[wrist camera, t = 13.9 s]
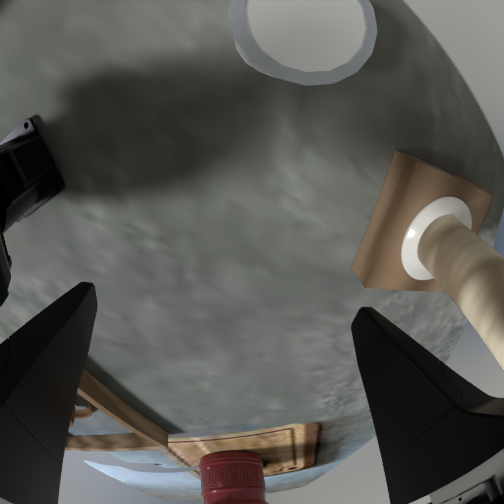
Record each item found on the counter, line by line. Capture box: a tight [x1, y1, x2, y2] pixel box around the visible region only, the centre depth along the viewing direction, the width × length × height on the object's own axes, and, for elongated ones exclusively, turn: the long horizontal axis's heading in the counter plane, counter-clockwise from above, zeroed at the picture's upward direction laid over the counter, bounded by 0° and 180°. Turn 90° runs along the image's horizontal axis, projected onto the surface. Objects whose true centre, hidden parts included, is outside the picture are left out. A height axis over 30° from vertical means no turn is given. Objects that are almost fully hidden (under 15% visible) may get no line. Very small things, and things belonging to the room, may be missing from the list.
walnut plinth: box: [352, 150, 493, 292], centre depth 23 cm, size 11×11×3 cm
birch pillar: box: [417, 215, 504, 370], centre depth 16 cm, size 5×5×13 cm
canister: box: [199, 451, 269, 504], centre depth 43 cm, size 13×13×18 cm
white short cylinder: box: [228, 0, 378, 86], centre depth 12 cm, size 7×7×7 cm
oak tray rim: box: [65, 368, 168, 451], centre depth 33 cm, size 26×26×3 cm
